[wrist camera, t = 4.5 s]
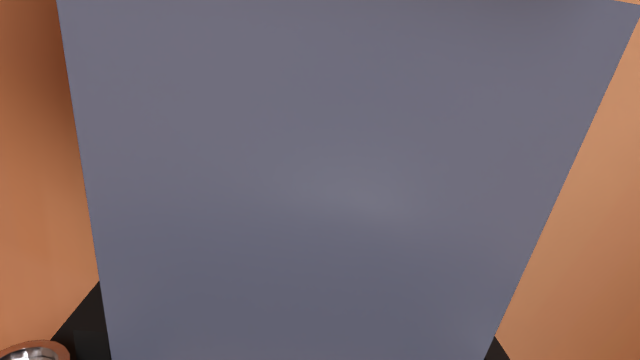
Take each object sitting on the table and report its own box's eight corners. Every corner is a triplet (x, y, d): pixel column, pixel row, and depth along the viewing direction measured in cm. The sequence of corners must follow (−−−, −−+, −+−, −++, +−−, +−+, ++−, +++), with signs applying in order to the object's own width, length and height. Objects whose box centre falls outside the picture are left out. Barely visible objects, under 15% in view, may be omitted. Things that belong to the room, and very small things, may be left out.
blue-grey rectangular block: (449, 24, 8) (645, 5, 4) (352, 399, 13) (380, 585, 9) (198, -15, 8) (41, -99, 3) (201, 395, 13) (147, 593, 8)
